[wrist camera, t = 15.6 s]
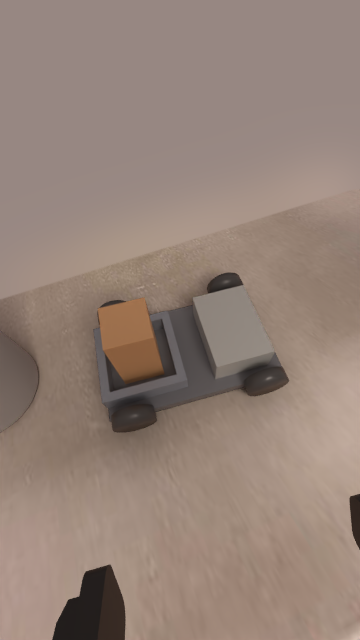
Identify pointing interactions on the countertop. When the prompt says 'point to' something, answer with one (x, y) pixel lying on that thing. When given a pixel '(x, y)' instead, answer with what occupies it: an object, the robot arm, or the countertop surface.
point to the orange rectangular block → (130, 340)
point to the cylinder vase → (15, 381)
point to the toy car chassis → (195, 357)
